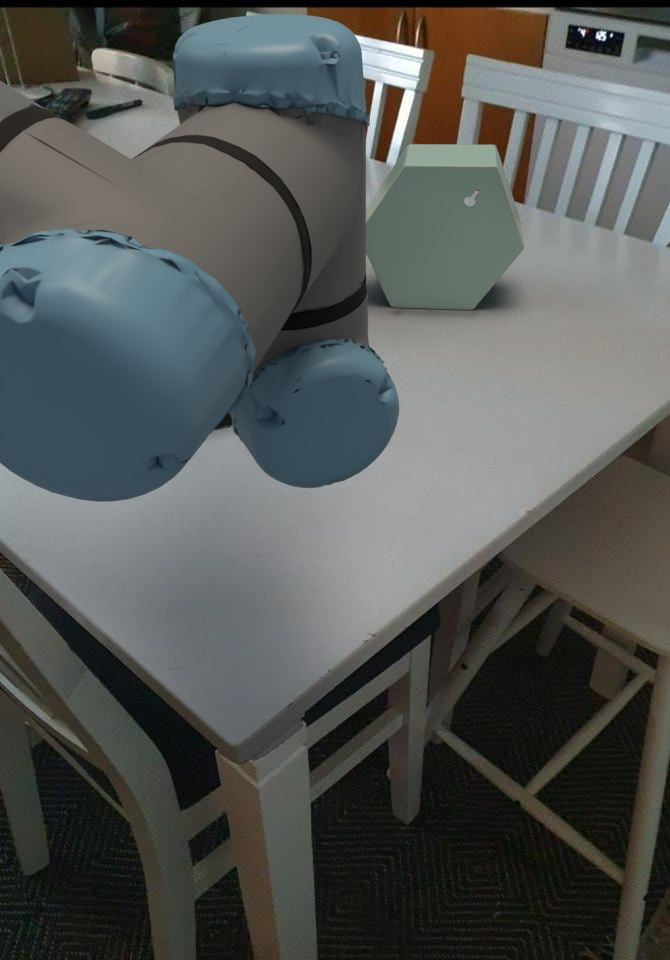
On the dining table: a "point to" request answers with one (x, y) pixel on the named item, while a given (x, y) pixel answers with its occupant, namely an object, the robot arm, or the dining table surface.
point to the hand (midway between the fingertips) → (168, 181)
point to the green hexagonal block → (442, 227)
